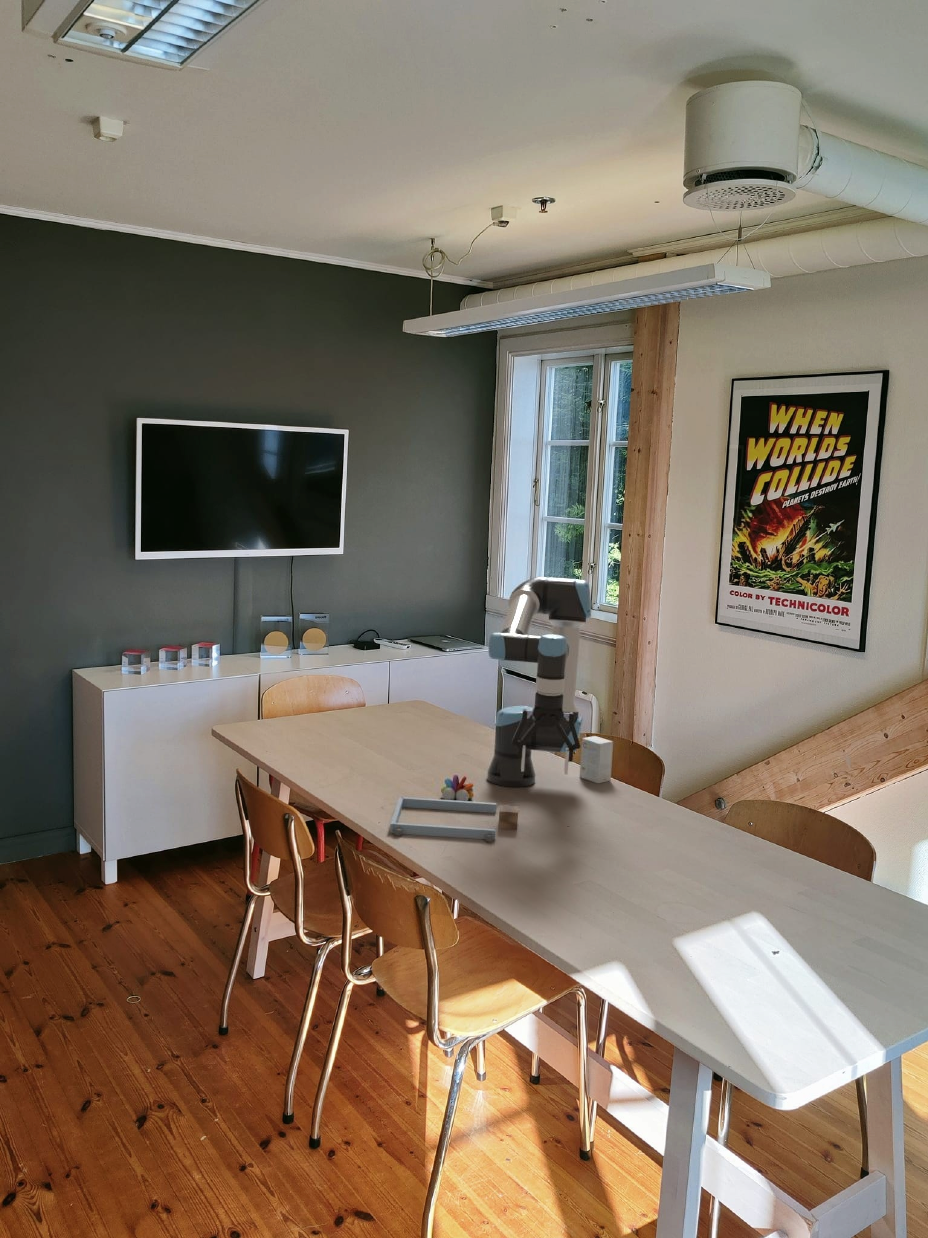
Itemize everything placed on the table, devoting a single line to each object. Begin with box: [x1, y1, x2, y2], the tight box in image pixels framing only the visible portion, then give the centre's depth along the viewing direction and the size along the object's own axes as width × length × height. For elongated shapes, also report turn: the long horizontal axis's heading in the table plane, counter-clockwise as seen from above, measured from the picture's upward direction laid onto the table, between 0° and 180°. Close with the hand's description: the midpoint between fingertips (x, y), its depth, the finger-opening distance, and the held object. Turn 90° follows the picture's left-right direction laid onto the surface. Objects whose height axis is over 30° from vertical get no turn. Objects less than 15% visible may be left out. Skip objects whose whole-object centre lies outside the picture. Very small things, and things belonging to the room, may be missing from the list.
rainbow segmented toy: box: [440, 774, 475, 801], centre depth 297 cm, size 8×10×7 cm
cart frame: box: [389, 796, 497, 844], centre depth 277 cm, size 28×27×2 cm
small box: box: [579, 735, 614, 784], centre depth 323 cm, size 8×6×13 cm
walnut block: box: [498, 805, 519, 831], centre depth 276 cm, size 5×5×5 cm
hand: (544, 771), depth 274 cm, fingers open, 11 cm apart
